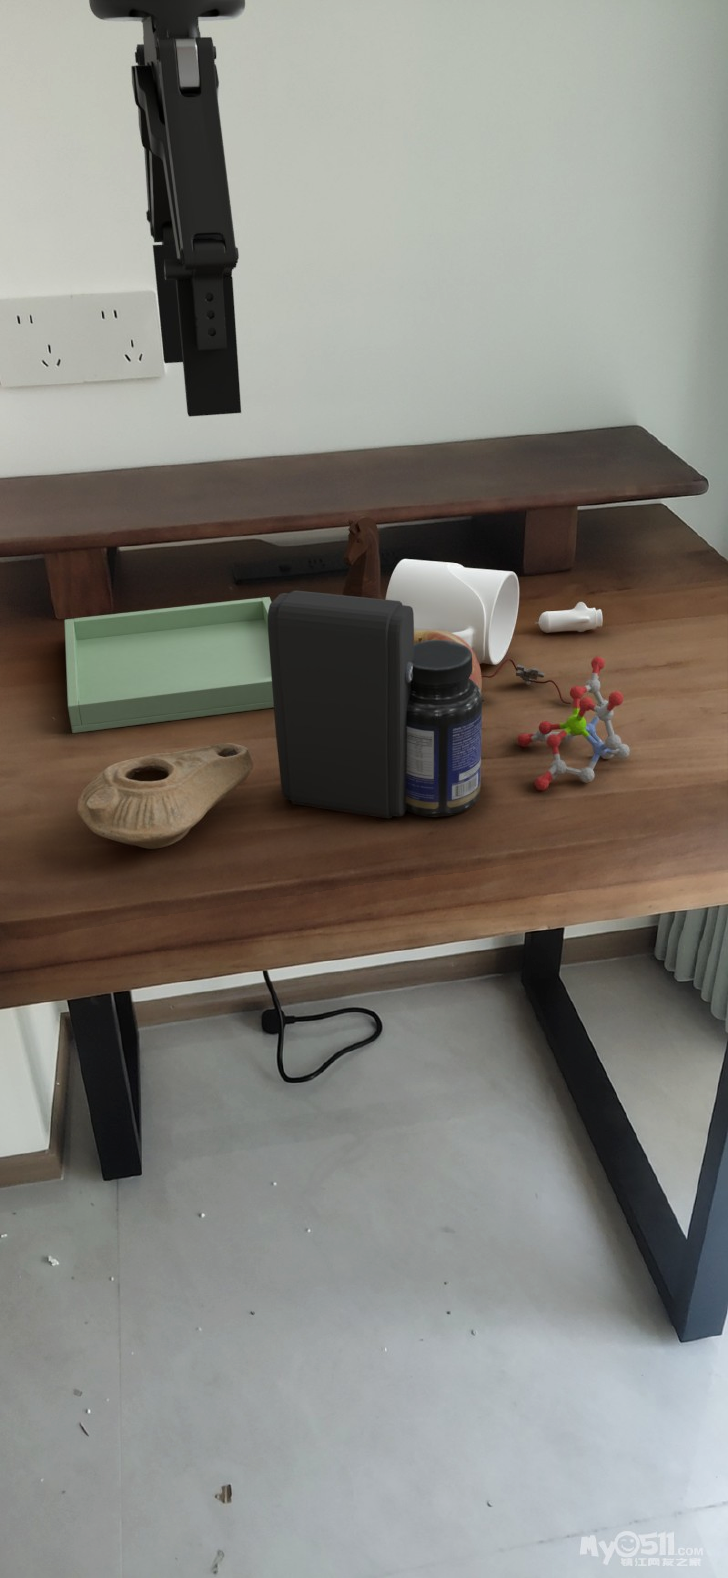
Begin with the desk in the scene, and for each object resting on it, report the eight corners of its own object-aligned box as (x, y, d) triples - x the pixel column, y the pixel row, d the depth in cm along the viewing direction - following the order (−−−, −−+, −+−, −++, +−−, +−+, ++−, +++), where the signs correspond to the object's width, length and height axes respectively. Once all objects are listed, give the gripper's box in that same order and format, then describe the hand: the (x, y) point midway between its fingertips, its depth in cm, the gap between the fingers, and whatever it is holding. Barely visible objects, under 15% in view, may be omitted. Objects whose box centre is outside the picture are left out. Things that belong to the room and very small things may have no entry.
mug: (417, 626, 108) (417, 542, 104) (517, 639, 105) (521, 553, 101) (370, 681, 98) (368, 591, 94) (478, 697, 95) (481, 605, 91)
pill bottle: (468, 770, 86) (472, 630, 80) (489, 815, 81) (495, 669, 75) (385, 779, 85) (382, 639, 79) (401, 825, 80) (399, 678, 74)
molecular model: (608, 735, 90) (617, 645, 86) (638, 789, 83) (649, 694, 79) (514, 740, 89) (519, 650, 86) (536, 795, 83) (543, 700, 79)
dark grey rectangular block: (420, 796, 83) (420, 596, 75) (404, 827, 80) (402, 621, 72) (298, 778, 85) (286, 583, 78) (278, 807, 82) (263, 606, 74)
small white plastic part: (539, 620, 109) (545, 588, 108) (602, 636, 107) (609, 603, 106) (527, 630, 106) (534, 597, 105) (592, 647, 104) (599, 613, 103)
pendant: (480, 648, 96) (478, 663, 99) (468, 697, 95) (468, 710, 97) (577, 667, 95) (574, 681, 98) (567, 716, 94) (564, 729, 96)
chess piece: (327, 626, 109) (322, 521, 104) (358, 608, 112) (355, 505, 107) (368, 636, 107) (365, 529, 101) (398, 617, 110) (397, 513, 105)
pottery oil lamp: (290, 807, 81) (273, 753, 75) (143, 908, 79) (113, 861, 72) (221, 725, 85) (199, 668, 79) (79, 819, 83) (45, 767, 76)
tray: (72, 733, 92) (67, 706, 91) (68, 643, 107) (64, 619, 106) (306, 703, 96) (304, 676, 94) (271, 620, 110) (269, 596, 109)
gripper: (285, -115, 46) (306, 435, 57) (208, -55, 67) (234, 340, 78) (90, -118, 45) (149, 447, 56) (73, -56, 65) (119, 346, 76)
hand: (199, 385), depth 67 cm, fingers open, 13 cm apart
